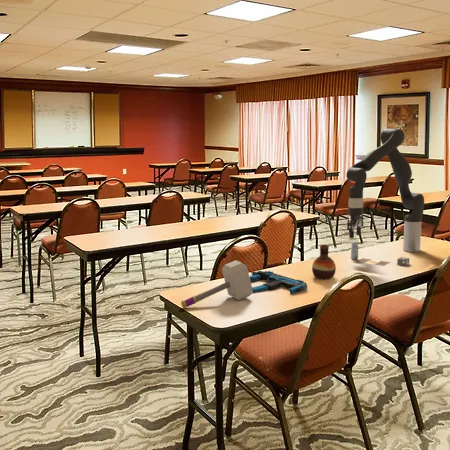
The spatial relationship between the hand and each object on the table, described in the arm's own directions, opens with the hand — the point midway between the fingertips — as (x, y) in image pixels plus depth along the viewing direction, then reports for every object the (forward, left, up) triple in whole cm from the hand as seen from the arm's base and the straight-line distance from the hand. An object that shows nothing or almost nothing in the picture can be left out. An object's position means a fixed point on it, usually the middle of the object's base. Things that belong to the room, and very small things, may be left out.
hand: (355, 236), depth 282 cm
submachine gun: (+64, -13, -14) cm, 67 cm away
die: (-4, +25, -14) cm, 29 cm away
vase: (+37, +2, -14) cm, 40 cm away
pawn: (0, 0, -12) cm, 12 cm away
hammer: (+97, -15, -14) cm, 99 cm away
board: (0, +8, -14) cm, 16 cm away
